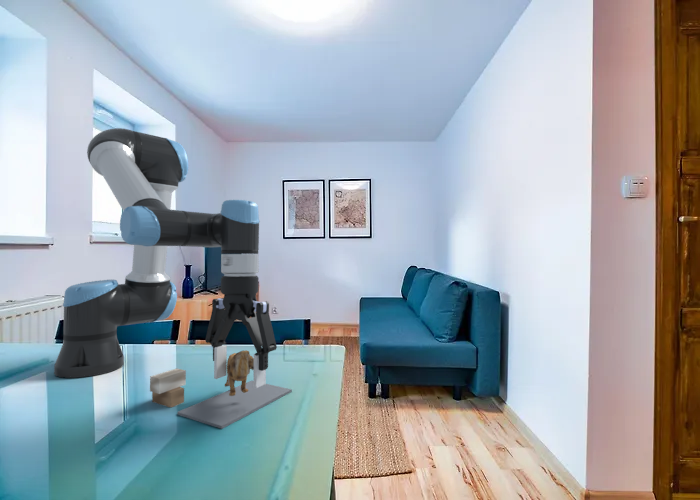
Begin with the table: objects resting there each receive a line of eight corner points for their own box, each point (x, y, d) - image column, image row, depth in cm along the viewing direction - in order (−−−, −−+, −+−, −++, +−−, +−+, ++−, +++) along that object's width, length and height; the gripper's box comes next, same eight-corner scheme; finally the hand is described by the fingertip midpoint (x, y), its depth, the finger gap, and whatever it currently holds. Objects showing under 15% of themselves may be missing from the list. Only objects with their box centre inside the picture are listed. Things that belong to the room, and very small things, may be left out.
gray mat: (177, 414, 70) (177, 411, 70) (251, 382, 87) (251, 380, 87) (221, 428, 64) (221, 426, 64) (291, 391, 82) (291, 389, 82)
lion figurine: (260, 396, 72) (260, 350, 73) (233, 402, 70) (233, 354, 70) (239, 377, 85) (238, 338, 85) (215, 381, 82) (214, 341, 82)
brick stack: (145, 404, 75) (145, 375, 75) (171, 394, 80) (172, 367, 80) (164, 410, 72) (164, 380, 72) (190, 400, 77) (190, 371, 77)
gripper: (187, 274, 78) (186, 377, 78) (270, 277, 67) (269, 397, 67) (215, 272, 85) (214, 368, 85) (295, 275, 74) (294, 384, 74)
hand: (239, 381), depth 76 cm, fingers closed on lion figurine, 10 cm apart
